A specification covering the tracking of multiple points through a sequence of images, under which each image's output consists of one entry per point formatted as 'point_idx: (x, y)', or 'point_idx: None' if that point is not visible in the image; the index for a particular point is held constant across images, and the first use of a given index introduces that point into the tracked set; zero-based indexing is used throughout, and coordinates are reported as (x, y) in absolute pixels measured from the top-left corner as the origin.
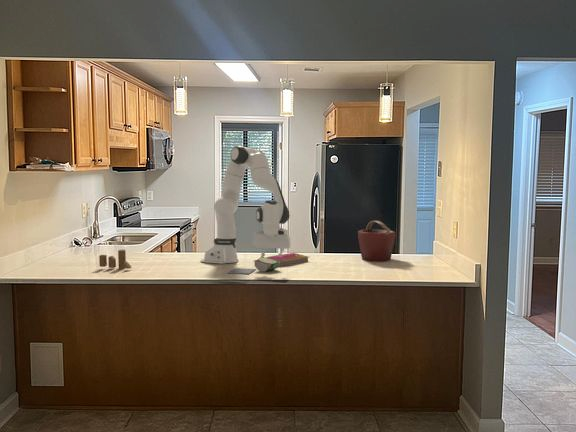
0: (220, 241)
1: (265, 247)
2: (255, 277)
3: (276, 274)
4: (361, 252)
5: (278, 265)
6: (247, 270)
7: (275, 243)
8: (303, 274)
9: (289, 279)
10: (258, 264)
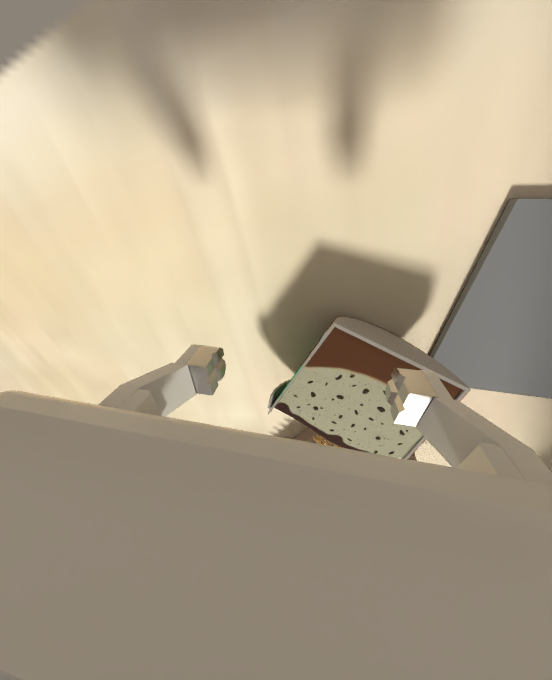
0: None
1: (423, 471)
2: (462, 8)
3: (272, 259)
4: None
5: (300, 439)
6: (495, 332)
7: (119, 550)
8: (135, 290)
9: (103, 26)
10: (421, 360)
